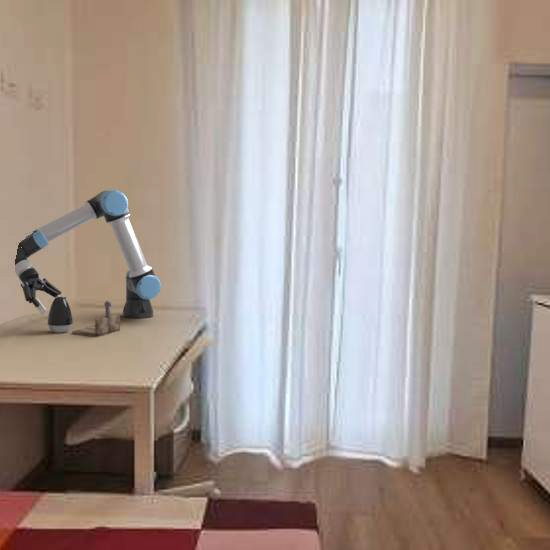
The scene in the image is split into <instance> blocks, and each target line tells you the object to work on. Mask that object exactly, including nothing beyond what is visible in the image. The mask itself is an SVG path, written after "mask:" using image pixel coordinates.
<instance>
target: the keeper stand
mask: <svg viewBox="0 0 550 550" xmlns="http://www.w3.org/2000/svg"><path fill="white" fill-rule="evenodd" d="M104 307H105V317H100V318H97V319H95V320H94V325H92V326H88V327H83V328H79V329H75V330H72V331H71V335H77V334H81V335H80V336H87V335H91V336H90V337H97V336H98V337H101V336H106V335H110V334H112V332H113V333H116V331H117V332H120V331H121V314H113V315H111V307H112V302H111V301H110V300H106V301H105V302H104ZM109 333H110V334H109ZM105 334H106V335H105Z"/></svg>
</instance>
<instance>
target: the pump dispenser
mask: <svg viewBox="0 0 550 550" xmlns="http://www.w3.org/2000/svg"><path fill="white" fill-rule="evenodd" d="M48 311H49V312H48V315H47V325H48V328H49V330H50V331H51V332H52V333H55V334H62V333H63V332H64V333H67V332H69V330H71V329H72V325H73V322H74V320H73V314H72V311H71V307H70V304H69V302H68V300H67V297H66V296H64V297H63V296H61V297H57V298H55V297H54V299H53V300H52V302H51V305H50V308H49V310H48ZM64 333H63V334H64Z"/></svg>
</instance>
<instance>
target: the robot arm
mask: <svg viewBox="0 0 550 550" xmlns="http://www.w3.org/2000/svg"><path fill="white" fill-rule="evenodd" d="M130 216H131V212H130V210H129V200H128V198H127V196H126V195H125V194H124V193H123V192H122V191H120V190H116V189H108V190H103V191H101V192H99V193H98V194H96V195H95V196H92V197H91V198H90V199H88V200H86V201H85V203H84V204H83V205H81V206H80V207H77V208H75V209H73V210H71V211H70V212H68V213H66V214H64V215H61V216H60V217H58V218H55V219H54V220H52V221H50V222H48V223H45V224H44V225H42V226H41V227H38V228H36V229H35V230H33V231H32V232H33V233H32V234H30V235H28V236H26V238H25V239H24V240H22V241H21V240H20V241H21V242H20V241H19V242H20V243H19V242H18V243H19V245H18V249H17V255H16V259H15V272H16V273H15V272H14V273H15V275H16V277H18V278H19V280H20V282H21V283H20V287H21V288H22V291H23V294H24V299H25V301H26V302H28V303H29V304H32V305H34V307H35V308H37V310H38V312H39V313H40V314H41V315H43V314H45V312H46V311H47V308H46V307H45V305H43V303H42V302H41V301H40V299H39V298H38V297H37V296H36V291H41V292H45V294H47V295H50V296H51V297H53V298H54V299H55V298H57V297H62V296H61V295H62V291H61V290H59V288H57V287H55V286H54V285H53V284H52V283H50V282H49V281H48V280H47V279H46V278H45V277H44V278H43V279H40V277H39V276H40V274H39V272H38V271H37V269H35V268H34V266H33V265H32V263H31V262H30V261H29V260H28V259H29V258H30V257H31V256H33V255H34V254H36V253H37V252H40V251H41V250H42V249H44V248H46V246H48V245H49V243H50V241H53V240H54V239H57V238H59V237H61V236H62V235H64V234H66V233H68V232H70V231H72V230H74V229H75V228H79V227H80V226H81V225H83V224H85V223H87V222H89V221H91V220H97V219H99V218H102V217H104V218H103V219H104V220H105V222H106V224H108V225H110V226H111V228H112V231H113V234H114V235H115V238H116V241H117V243H118V244H119V245H118V246H119V247H120V250H121V252H122V254H123V257H124V260H125V262H126V264H127V267H128V269H129V270H128V271H126V275H125V296H126V297H125V303H124V306H123V310H122V317H123V318H127V319H128V318H129V319H146V318H151V317H154V309H153V306H152V302H151V300H153V299H155V298H156V297H157V296H159V294H160V292H161V290H162V283H161V281H160V279H159V278H158V277H157V276H156V275H155V271H154V269H153V267H152V266H150V265H148V263H147V260H146V258H145V255H144V253H143V250H142V249H141V246H140V244H139V241H138V238H137V235H136V233H135V231H134V228H133V225H132V224H131V221H130ZM21 247H22V248H21Z"/></svg>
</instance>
